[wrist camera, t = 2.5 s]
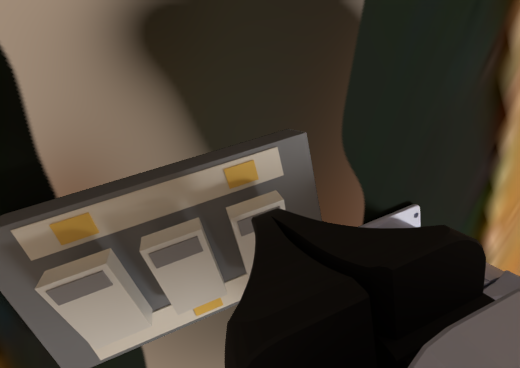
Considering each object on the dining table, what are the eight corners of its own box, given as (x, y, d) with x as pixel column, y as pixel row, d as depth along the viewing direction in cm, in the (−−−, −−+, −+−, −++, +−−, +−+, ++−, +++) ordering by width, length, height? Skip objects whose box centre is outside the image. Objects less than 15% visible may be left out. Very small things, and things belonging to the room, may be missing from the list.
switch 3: (287, 254, 17) (295, 267, 16) (246, 271, 16) (251, 285, 15) (276, 190, 14) (284, 200, 13) (225, 207, 13) (230, 219, 12)
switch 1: (152, 309, 15) (151, 327, 14) (100, 330, 14) (95, 351, 13) (111, 247, 12) (105, 264, 11) (44, 270, 12) (33, 290, 11)
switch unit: (310, 244, 21) (331, 265, 18) (86, 335, 18) (67, 380, 15) (287, 129, 18) (307, 132, 15) (3, 214, 14) (-44, 241, 11)
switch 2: (224, 280, 16) (227, 295, 15) (177, 299, 15) (178, 316, 14) (198, 217, 13) (201, 230, 12) (141, 237, 13) (139, 252, 12)
